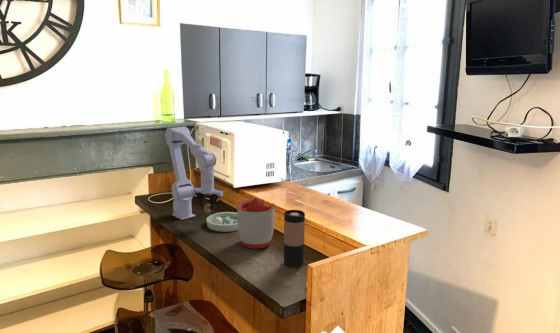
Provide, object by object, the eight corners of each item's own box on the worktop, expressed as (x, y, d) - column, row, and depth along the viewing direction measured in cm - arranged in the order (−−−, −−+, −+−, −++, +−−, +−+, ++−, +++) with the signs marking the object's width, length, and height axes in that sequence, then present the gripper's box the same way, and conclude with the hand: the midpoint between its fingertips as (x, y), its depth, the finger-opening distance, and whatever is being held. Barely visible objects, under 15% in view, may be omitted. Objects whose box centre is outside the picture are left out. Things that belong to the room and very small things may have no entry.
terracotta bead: (202, 213, 184) (201, 204, 183) (206, 210, 188) (206, 202, 187) (209, 214, 183) (209, 205, 182) (214, 211, 186) (214, 203, 185)
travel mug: (282, 259, 155) (283, 209, 151) (302, 258, 156) (303, 209, 151) (284, 268, 148) (285, 216, 143) (305, 268, 148) (306, 216, 144)
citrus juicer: (285, 242, 170) (286, 197, 166) (254, 255, 158) (254, 206, 154) (260, 232, 181) (260, 189, 177) (229, 243, 169) (228, 197, 165)
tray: (199, 224, 190) (199, 218, 190) (230, 215, 203) (230, 209, 202) (222, 235, 178) (222, 228, 177) (253, 224, 190) (253, 218, 189)
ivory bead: (219, 223, 190) (218, 215, 189) (224, 225, 187) (223, 217, 186) (212, 225, 187) (211, 217, 186) (217, 227, 184) (216, 219, 183)
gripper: (188, 181, 181) (189, 210, 184) (217, 184, 176) (218, 214, 179) (197, 177, 187) (198, 205, 190) (225, 180, 182) (225, 209, 185)
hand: (208, 209), depth 185 cm, fingers closed on terracotta bead, 4 cm apart
